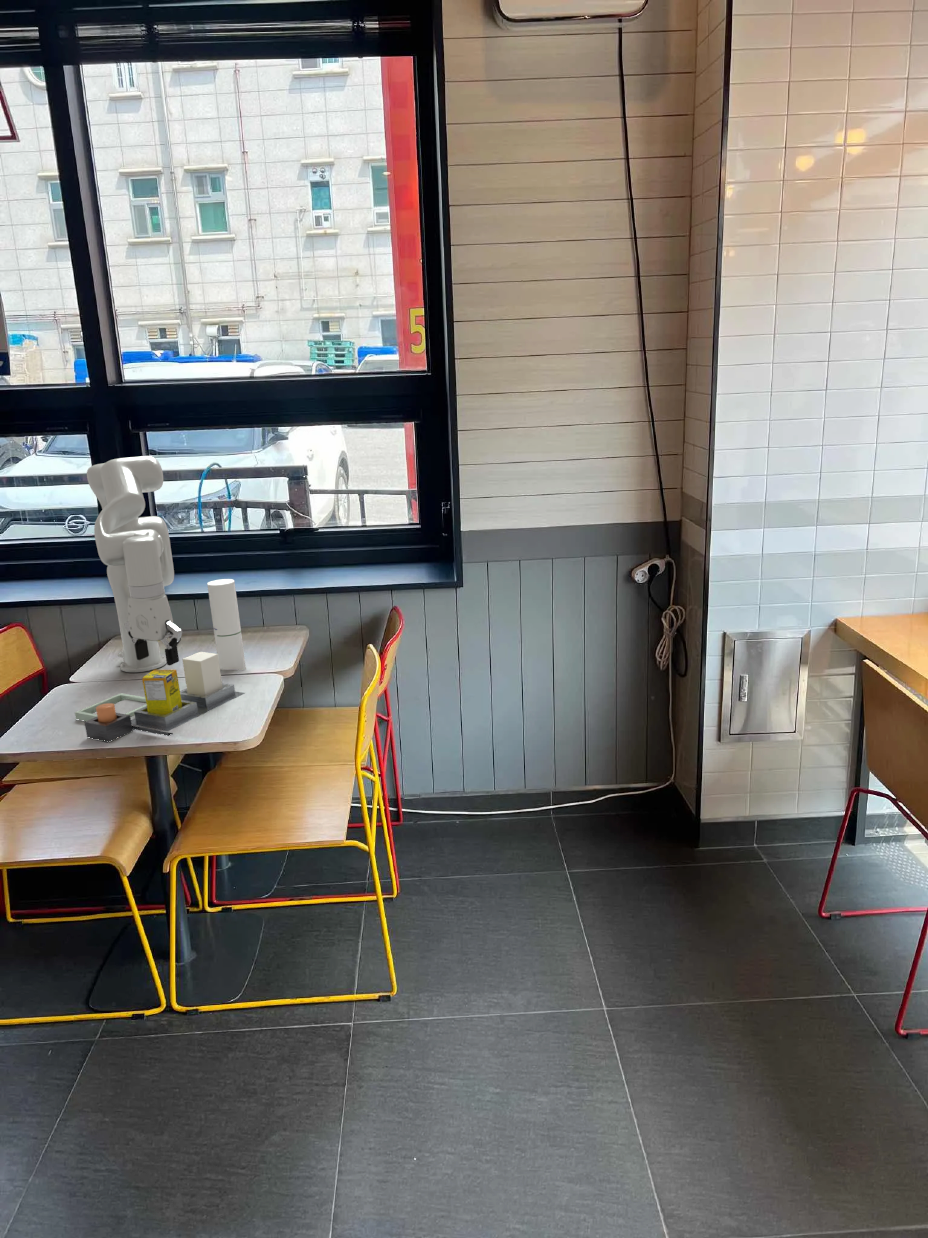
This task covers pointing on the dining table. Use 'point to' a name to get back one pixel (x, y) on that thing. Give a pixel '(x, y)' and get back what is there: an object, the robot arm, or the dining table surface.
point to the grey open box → (183, 710)
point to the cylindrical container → (226, 624)
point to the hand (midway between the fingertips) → (158, 660)
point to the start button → (106, 713)
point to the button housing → (108, 728)
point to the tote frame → (88, 712)
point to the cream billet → (202, 673)
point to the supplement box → (162, 691)
